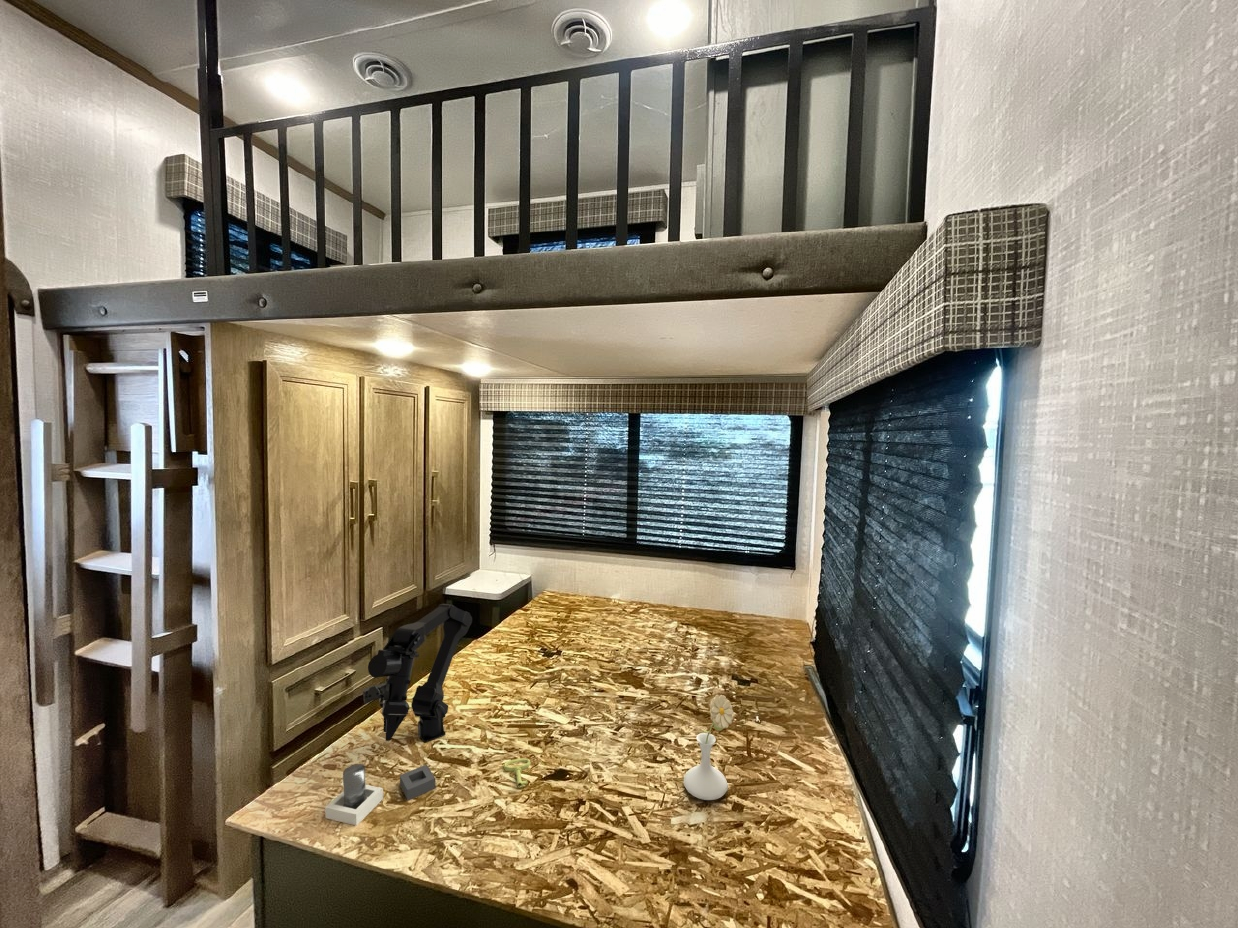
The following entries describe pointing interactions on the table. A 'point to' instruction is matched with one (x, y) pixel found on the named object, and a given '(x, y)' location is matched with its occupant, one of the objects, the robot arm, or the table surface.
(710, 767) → the flower in vase
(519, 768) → the key
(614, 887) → the table surface
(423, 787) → the block
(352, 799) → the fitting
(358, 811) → the tray
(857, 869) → the table surface
